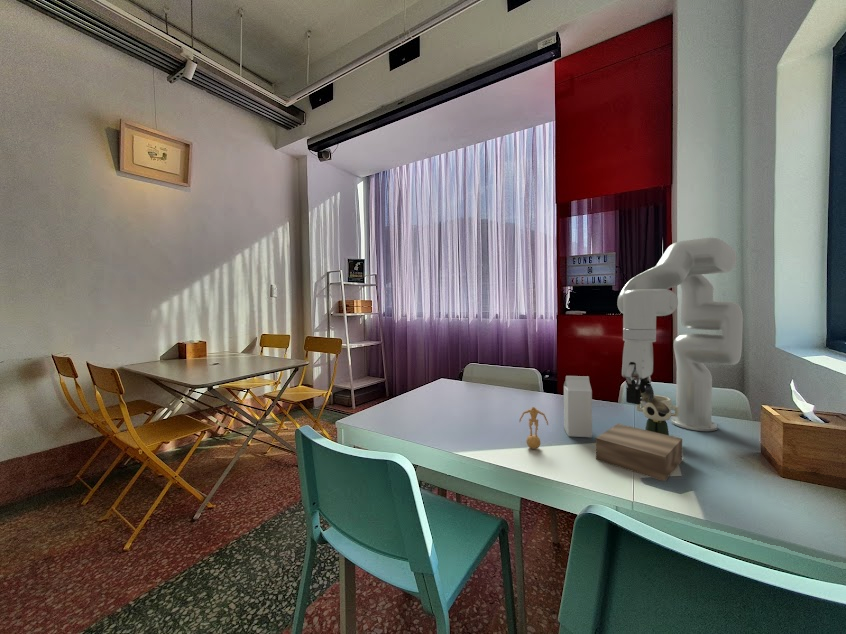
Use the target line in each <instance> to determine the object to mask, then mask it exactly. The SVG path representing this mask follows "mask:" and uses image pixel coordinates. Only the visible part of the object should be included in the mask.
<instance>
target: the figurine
mask: <svg viewBox="0 0 846 634" xmlns="http://www.w3.org/2000/svg"><path fill="white" fill-rule="evenodd" d="M528 413H529V415H530V418H529V419H528V427H529V430H530V431H529V435H528V437H527V438H526V445H527V446H528V447H529V448H530V449H532V450H536V449H539V448H540V446H541V438H540V437H539V436H538V430H539V428H538V427H539V419H538V418H537V416H538V414H539V415H542V416H543V418H544V420H545V422H546V425H549V422H548V421H549V420H548V419H547V416H546V414H545V413H544V412H541V411H540V410H538V409H537V408H536V407H535V406H532V407H531V409H530V408H529V409H528V410H525V411H523V412H522V414H521V416H520V418H519V423H521V421H522V419H523V417H524V415H526V414H528ZM533 424H534V426H535V428H534V430H535V431H534V434H533V428H532V425H533Z"/></svg>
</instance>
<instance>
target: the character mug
mask: <svg viewBox="0 0 846 634" xmlns="http://www.w3.org/2000/svg"><path fill="white" fill-rule="evenodd" d="M654 398H656V399H658V400H660V401H661V402H662V403H664V404H665V405H666V406H667V407H668V408H669V410H670V411H669V413H668V414H663V413H660V412H657V410H656V408H655V406H654V405H653V404H652V403H650V402H647V403H646V406H645V407H643V408H642V409H641V404H642V401H641V404H639V405H637V404H636V411H637V412H643V415H644V416H645V418H648V419H647V420H646V423H645V429H644V430H647V431H652V432H656V433H660V434H665V435H669V436H670V434H669V426H668V422H667V421H670V420H671V418H672V417H674V416H676V417H677V416H678V415H679V407H678V406H676V405H674V404H672V399H671V398H670V397H667V396H663V395H658V394H654ZM672 409H674V412H672Z"/></svg>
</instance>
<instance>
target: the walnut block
mask: <svg viewBox="0 0 846 634" xmlns="http://www.w3.org/2000/svg"><path fill="white" fill-rule="evenodd" d="M595 460H597V461H599V462H603V463H606V464H609V465H612V466H616V467H618V468H621V469H624V470H627V471H630V472H634V473H636V474H640V475H643V476H646V477H650V478H652V479H656V480H659V481H661V482H666V481H667V480H668V478H670V476H671V475H672V474H673V472H674V471H675V470H676V469H677V468H678V466H679V465H680V464H681V462H682V461H683V438H680V437H679V436H678V437H677V436H672V435H670V434H669V435H665V434H660V433H656V432H652V431H647V430H645V429H642V428H638V427H635V426H631V425H625V424H621V423H617V424H615V425H614V426H612V427H610V428H609V429H608V430H606V431H605V432H603V433H601V434H600V435H598V436H596V437H595Z"/></svg>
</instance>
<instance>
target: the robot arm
mask: <svg viewBox="0 0 846 634" xmlns="http://www.w3.org/2000/svg"><path fill="white" fill-rule="evenodd" d="M737 259H738V258H737V253H736V251H735V249H734V248H733V246H732V245H730V244H729V243H727V242H725V241H724V240H723V239H720V238H717V237H712V236H710V237H702V238H701V237H700V238H693V239H689V240H687V239H686V240H681V241H676V242H673V243H672V244H670V245H669V246H668V247H667V248H666V249H665V251H664V252H663V254H662V255H661V257H660V258H659V260H658V262H657V263H656V265H655V266H653V267H651V268H649V269H647V270H645V271H643V272H641V273H639V274H637V275H636V276H634V277H632V278H631V279H629V280H628V281H627V282H626V284H624V286H623V288H622V289H621V291H620V292H619V295H618V296H617V302H616V303H617V304H616V305H617V308H618V310H619V312H620V313H621V314H623V315H622V317H623V318H622V341H623V342H624V343H623V350H622V360H621V361H622V365H621V366H622V367H621V376H622V377H623V378H625V379H626V380H625V383H626V385H625V391H626V392H625V395H626V399H625V400H626V403H628V404H633V405H636V406H637V405H639V404H640V405H641V398H642V396H641V393H644V392H645V391H646V390H645V386H647V385H648V386H650V385H651V386H652V378H651V376H652V375H653V373H654V346H653V343H656V342H657V317H663V316H664V317H666V316H670V315H671V314H673V313H674V312H675V311H676V310H677V308H678V305H679V298H678V296H677V294H676V293H675V292H674V291H672V290H670V289H671V288H675V287H678V286H679V285H680V289H681V298H680V299H681V300H680V301H681V303H680V323H681V326H683V328H686V329H688V330H697V331H698V330H699V331H719V332H721V334H708V333H695V332H694V333H690V332H689V333H688V332H687V333H681V334H680V335H678V336H676V337H675V338H674V340H673V351H674V357H675V363H676V364H675V365H676V366H675V367H676V396H675V397H676V401H675V403H676V405H675V406H678V407H679V415H678V416H677V417H676V416H671V418H670V422H671V423H672V424H673V425H675V426H677V427H679V428H683V429H686V430H690V431H691V430H692V431H698V432H714V431H717V430H718V424H717V423H715V422H713V421H712V416H713V415H712V409H713V404H712V402H713V401H712V399H713V397H712V396H713V395H712V394H713V391H712V390H713V377H712V372H711V371H710V370H709V368H708V367H707V366H706V365H705V364H716V365H723V366H724V365H726V366H733V365H737V364H738V363H739V362H740V361H741V356H742V351H743V328H744V326H743V325H744V315H743V310H742V308H741V306H740V305H739V304H738V303H736V302H733V301H714V286H713V284H712V283H711V282H710V280H709V279H708V278H707V277H705V276H704V275H711V274H725V273H728V272H731V271H732V270H733V269H734V268H735V266H736V264H737Z"/></svg>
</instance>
